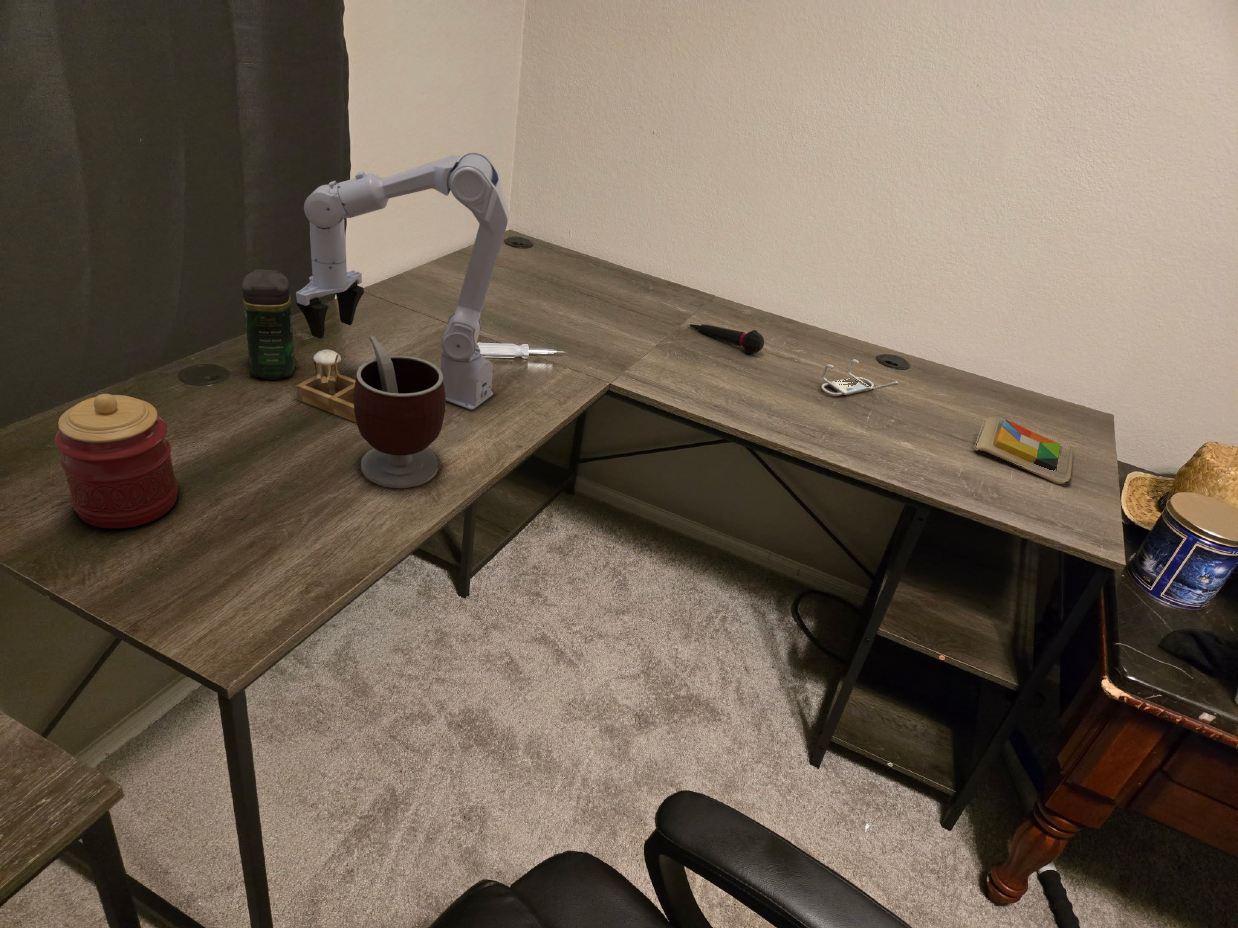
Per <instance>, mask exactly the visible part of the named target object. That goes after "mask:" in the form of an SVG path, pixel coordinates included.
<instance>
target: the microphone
mask: <svg viewBox="0 0 1238 928" xmlns="http://www.w3.org/2000/svg"><path fill="white" fill-rule="evenodd" d="M689 327H691V328H692V329H694V330H697V331H699V332H700V333H702V334H703V335H706V336H709V337H711V338H715V339H717V340H720V341H722V342H723V341H724V342H727V343H729V344H732V345H735V346H738V347H742V348H743V349H744V351H745V352H746V353H747V354H749V355H751V354H757V353H758V352H761V350H763V348H764V347H765V339H764V336H763V335H762V334H761V333H760V332H759V331H758V330H756V329H753V330H750V331H748V332H747V333H746V332H745V331H740V330H735V329H730V328H726V327H721V326H715V325H710V324H702V323H701V324H695V323H693V324H692V323H690V324H689Z"/></svg>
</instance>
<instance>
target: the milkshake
mask: <svg viewBox="0 0 1238 928" xmlns="http://www.w3.org/2000/svg"><path fill="white" fill-rule="evenodd" d="M341 357H342V356H341V355H340V354H339V353H338V352H337V351H334V350H331V349H322V350H319V351H317V352H316V353H315V354H314V355H313V358H312V359H313V363H314V369H315V373H316V375H317V380H318V387H319V391H321V392H324V393H326V394H329V395H331V396H333V395H334V394H336V393H338V392H340V391H339V374H341V373H340V372H341V362H342V361H341V360H342V358H341Z"/></svg>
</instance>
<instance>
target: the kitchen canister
mask: <svg viewBox="0 0 1238 928" xmlns="http://www.w3.org/2000/svg"><path fill="white" fill-rule="evenodd" d="M57 425H58V430H57V431H56V434H55V436H54V445H55V447H56V448H57V450H58V451H59V452H60V453H61V456H60V459H59V461H60V466H61V468H62V470H63V471H64V475H65V478H66V481H67V485H68V489H69V492H70V502H71V506H72V508H73V510H74V511H75V512H76V514H77V516H78V517H79V519H80V520H81V521H83V522H84V523H86V524H88V525H90V526H93V527H97V528H101V529H127V528H133V527H134V528H135V527H138V526H142V525H145V524H148V523H151V522H153V521H156V520H157V519H159V518H161V517H162V516H164V515H165V514H167V513H168V512H169V511H170V510H171V509H172V508H173V507H174V506H175V504H176V502H177V499H178V493H179V485H178V480H177V477H176V476H175V471H174V466H173V460H172V456H171V453H172V447H171V443H170V442H169V440H168V439H167V438H166V436H167V434H168V426H167V423H166V422H165V420H164V419H163V418H162V417H161V416H159V415H158V411H157V409H156V407H155V406H154V405H152V404H151V403H150V402H148V401H145V400H143V399H139V398H135V397H132V396H129V395H123V394H122V395H121V394H110V393H101V394H98V395H97V396H94V397H89V398H87V399H85V400H82V401H80V402H78V403H77V404H75V405H73V406H72V407H70V408H68V409H67V410H65V411H64V412H63V413H62V415H60V416H59V419H58V423H57Z"/></svg>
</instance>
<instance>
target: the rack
mask: <svg viewBox="0 0 1238 928" xmlns="http://www.w3.org/2000/svg"><path fill="white" fill-rule="evenodd" d="M355 381H356V379H355V378H351V377H349V376H346V375H343V374H341V373H340V374H339V392H338V393H336V394H334V395H333V396H331V395H329V394H326V393H324V392H321V391H319V387H318V380H317V374H316V375H314V376H312V377H310V378H307V379H306V380H304V381H302V382H300V383H298V384H296V397H297V398H296V399H297V401H299V402H302V403H305V404H307V405H309V406H313V407H315V408H318V409H319V410H323V411H325V412H328V413H330V414H332V415H335V416H338V417H340V418H343V419H345V420H347V421H350V422H352V423H356V418H355V414H354V387H355ZM356 424H357V423H356Z"/></svg>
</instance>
